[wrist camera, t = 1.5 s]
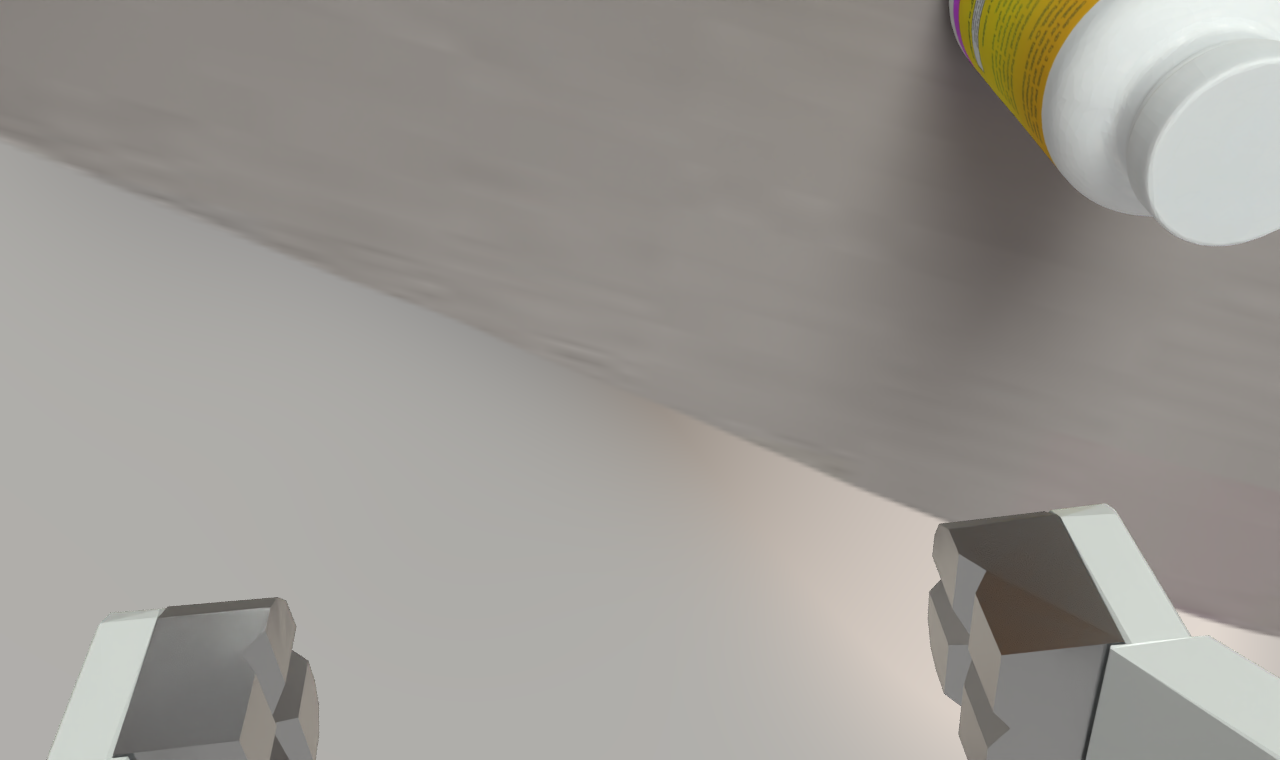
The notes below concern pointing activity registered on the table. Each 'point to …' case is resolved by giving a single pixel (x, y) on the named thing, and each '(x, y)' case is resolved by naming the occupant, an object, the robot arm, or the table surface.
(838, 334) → the table surface
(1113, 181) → the supplement bottle
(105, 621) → the robot arm
